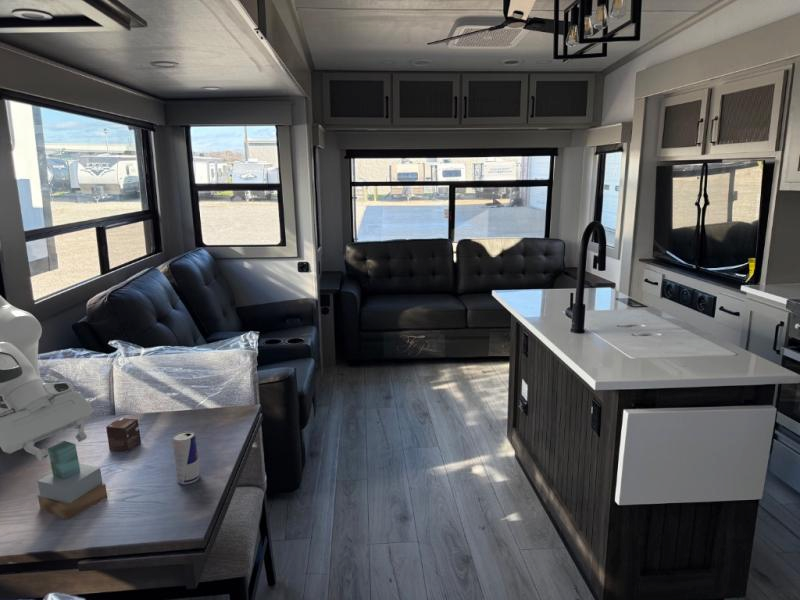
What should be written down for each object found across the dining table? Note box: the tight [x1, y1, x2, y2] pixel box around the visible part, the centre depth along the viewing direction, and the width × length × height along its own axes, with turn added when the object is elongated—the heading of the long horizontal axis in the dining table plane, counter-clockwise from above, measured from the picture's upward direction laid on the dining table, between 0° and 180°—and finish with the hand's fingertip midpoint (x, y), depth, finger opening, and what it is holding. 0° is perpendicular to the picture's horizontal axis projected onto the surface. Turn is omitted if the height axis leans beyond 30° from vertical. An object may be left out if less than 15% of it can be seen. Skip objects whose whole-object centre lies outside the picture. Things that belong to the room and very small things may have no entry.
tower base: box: [37, 482, 108, 521], centre depth 133 cm, size 10×10×4 cm
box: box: [105, 417, 142, 453], centre depth 159 cm, size 6×6×7 cm
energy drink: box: [172, 430, 201, 485], centre depth 141 cm, size 5×5×12 cm
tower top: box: [37, 463, 103, 504], centre depth 132 cm, size 9×9×4 cm
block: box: [47, 440, 80, 479], centre depth 131 cm, size 4×4×7 cm
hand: (64, 448), depth 130 cm, fingers open, 8 cm apart
